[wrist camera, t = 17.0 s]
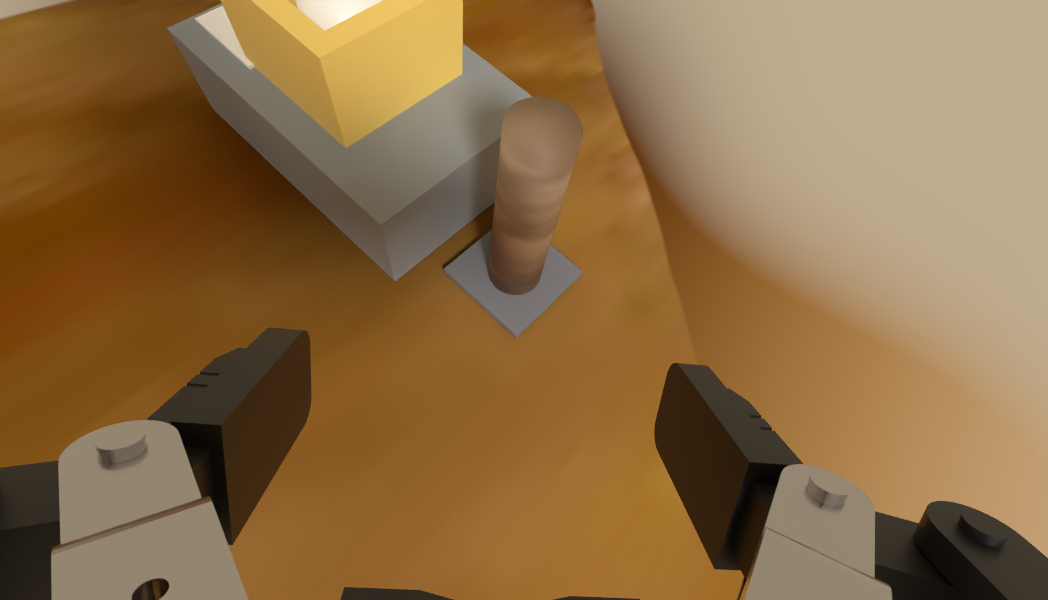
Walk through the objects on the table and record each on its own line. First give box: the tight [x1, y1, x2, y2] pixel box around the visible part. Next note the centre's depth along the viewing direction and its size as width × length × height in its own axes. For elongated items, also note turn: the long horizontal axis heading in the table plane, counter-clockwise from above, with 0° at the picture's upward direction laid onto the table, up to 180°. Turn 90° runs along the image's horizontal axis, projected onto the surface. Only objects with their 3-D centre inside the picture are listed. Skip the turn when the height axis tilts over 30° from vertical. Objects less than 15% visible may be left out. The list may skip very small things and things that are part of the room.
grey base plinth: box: [167, 0, 532, 282], centre depth 29 cm, size 18×12×12 cm, turn 47°
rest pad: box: [444, 229, 583, 338], centre depth 31 cm, size 6×6×1 cm
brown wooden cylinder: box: [488, 97, 583, 295], centre depth 25 cm, size 3×3×12 cm
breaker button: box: [295, 0, 383, 31], centre depth 28 cm, size 4×4×8 cm
